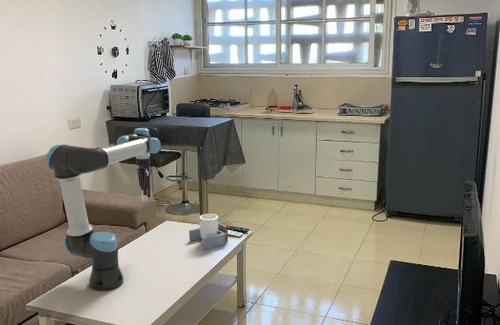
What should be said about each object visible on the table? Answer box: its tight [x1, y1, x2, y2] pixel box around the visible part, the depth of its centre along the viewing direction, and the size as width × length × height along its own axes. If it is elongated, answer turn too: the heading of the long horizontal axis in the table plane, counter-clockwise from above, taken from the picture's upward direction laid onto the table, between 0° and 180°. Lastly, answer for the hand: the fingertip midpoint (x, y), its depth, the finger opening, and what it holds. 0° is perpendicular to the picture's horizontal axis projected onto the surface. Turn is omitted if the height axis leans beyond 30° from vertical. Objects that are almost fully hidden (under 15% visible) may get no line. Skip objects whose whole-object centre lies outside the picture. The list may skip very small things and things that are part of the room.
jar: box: [199, 213, 219, 244], centre depth 272 cm, size 11×10×15 cm
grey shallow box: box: [188, 227, 227, 250], centre depth 272 cm, size 14×16×6 cm
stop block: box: [217, 220, 229, 243], centre depth 277 cm, size 2×11×9 cm, turn 35°
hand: (144, 200), depth 261 cm, fingers closed
